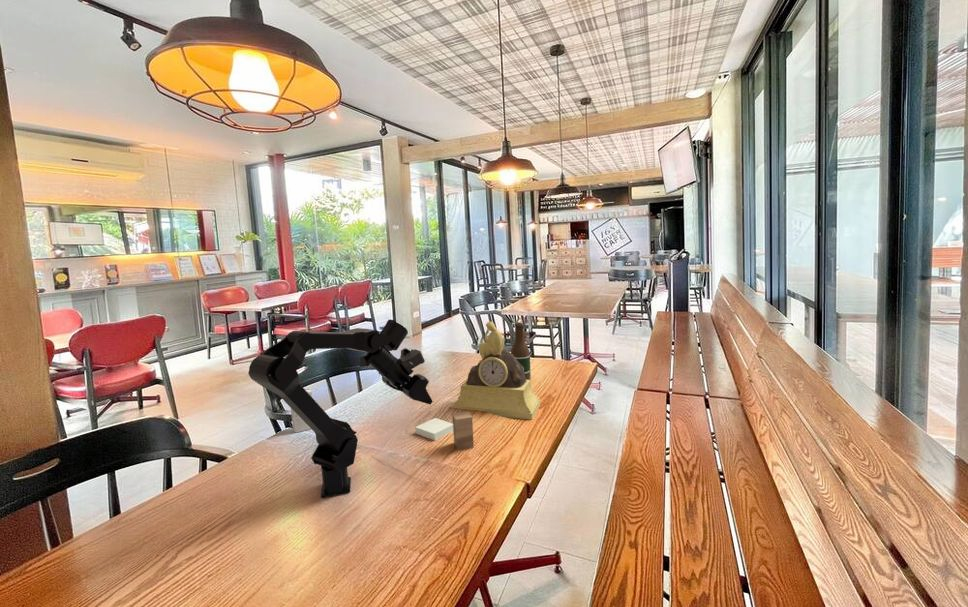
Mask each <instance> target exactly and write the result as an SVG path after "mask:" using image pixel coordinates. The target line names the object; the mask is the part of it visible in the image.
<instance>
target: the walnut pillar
mask: <svg viewBox="0 0 968 607" xmlns="http://www.w3.org/2000/svg"><path fill="white" fill-rule="evenodd" d="M452 424H453V431H452V432H453V444H454V446H455V447H456V450H457V451H459V450H465V449H471V448H474V447H475V445H474V424H473V416H472V415H471V413H470V412H469V410H467V411H460V412H459V411H458V412H454V413H452Z"/></svg>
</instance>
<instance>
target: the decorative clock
mask: <svg viewBox="0 0 968 607" xmlns="http://www.w3.org/2000/svg"><path fill="white" fill-rule="evenodd" d="M485 326H486V331H485V332H484V342H479V343H478V350H479V355H480V356H481V360H479V361H478V363H477V364H476V365H473V366H471V368H470V371H469V372H468V374H467V379H466V380H465V381H464V382H463V383H462V384H461V385H460V393H459V395H458V397H457V399H456V400H455V401H454V402H453V403H452V404H451V405H450V408H451V409H460V410H468V411H469V410H470V411H481V412H485V413H489V414H491V415H496V416H499V417H503V418H509V419H511V418H513V419H522V420H523V419H524V420H533V419H534V418H535V416H536V413H537V412H538V410H539V408H540V406H541V399H539V397H538V396H537V395H536V394H535V391H534V390H533V388H532V382H531V379H530V380H526V378H525V375H524V368H523V366H522V365H521V364H520V363H519V362H518V361H517V360H516V358H515V357H514V356H513V354H512V353H511V351H510V350H508V349H506V348H505V349H504V347H505V341H504V337H503V336H504V335H502V332H501V331H500V330H499V329H497V328H496V325H495V323H494V321H488V322H486V324H485ZM489 332H490V333H489Z"/></svg>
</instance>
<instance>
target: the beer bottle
mask: <svg viewBox="0 0 968 607" xmlns="http://www.w3.org/2000/svg"><path fill="white" fill-rule="evenodd" d="M514 327H515V332H514V333H515V335H514V337H515V338H514V343H513V344H512V346H511V350H510V353H512V354H513V356H514V357H515V358H516V360H517V361H518V362H519V363H520V364H521V365H522V366H523V368H524V375H525V378H526V380H531V354H530V348H529V346H528V345H527V344H526V340H525V330H524V329H525V328H524V327H525V325H524V323H523V322H516V323H515V324H514Z"/></svg>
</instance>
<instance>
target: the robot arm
mask: <svg viewBox="0 0 968 607" xmlns="http://www.w3.org/2000/svg"><path fill="white" fill-rule="evenodd" d="M408 334H409V331H408V329H407V328H406V327H404V325H402V324H401V323H398V322H397V321H396V320H395V319H388V320H387V321H386V323H385V325H384V326H383V328H382V329H381V331H379V330H377V329H371V328H370V329H369V328H361V327H357V328H352V329H347V330H345V331H340V332H337V331H330V332H329V331H305V330H304V331H302V330H292V331H290V332H289V333H288V334H286V336H284V337H283V338H282V339H281V340H280V341H278V342H276V343H274V344H272V345H270V346H269V347H268V348H266V350H265V351H264V352H262V353H261V354H260V355H257V356H256V357H255V358H253V359H252V361H251V362H250V364H249V366H248V368H249V369H248V376H249V377H250V379H251V380H252V381H253V382H255V383H257V384H258V385H260V386H261V387H263V388H265V389H267V390H268V391H270V392H272V393H274V394H275V395H277V396H279V397H280V398H281V399H282V400H283V401H284V402H285V404H286V405H288V406H289V408H290V409H291V408H292V409H293V410H294V411H295V413H296V414H297V415H298V416H299V417H300V418H301V419H302V420H303V421H304V422H305V423H306V424H307V425H308V426H309V427H310V428H311V429H310V430H312V431H313V432H314V433H315V439H316V440H315V441H316V442H317V444H318V445H317V446H316V448H315V450H314V452H313V454H312V455H311V457H310V458H311V460H312V463H313V464H315V465H318V466H320V467H321V468H320V470H321V480H322V481H321V483H322V485H321V491H320V498H323V499H324V498H328V497H333V496H338V495H344V494H349V493H350V492H351V488H352V487H351V482H352V478H351V477H352V476H349V472H348V468H349V467H351V466H352V465H354V463H355V459H356V453H357V448H358V442H359V439H358V436H357V435H356V434H357V433H358V432H357V431H355V430H353V429H352V426H351V425H350V424H349V423H348V422H347V421H343V420H340V419H335V418H332V417H330V416H329V415H328V414H327V412H326V411H325V410H324V409H323V407H321V406H320V405H319V403H318V402H317V401H316V400H315V399H314V397H313V396H312V397H311V396H310V395H309V393H308V392H307V391H306V390H305V388H304V386H302V384H301V382H300V377H299V373H298V369H299V368H300V367H301V366H302V365H303V363H304V360H305V357H306V355H307V353H308V352H309V351H310V350H328V349H329V350H330V349H335V350H336V349H337V350H338V349H345V350H346V349H347V350H352V351H357V352H364V353H365V354H364V355H360V356H359V367H360V368H363V367H364V368H365V367H369V366H372V368H374V369H375V371H377V372H378V375H380V376H381V377H382V378H381V379H382V380H381V381H382V382H383V383H384V384H385V385H386V386H388V387H389V388H391V389H393V390H395V391H399V392H402V393H403V394H404V395H405V396H406V397H408V398H409V399H411V400H413V401H415V402H416V401H417V402H420V403H424V404H427V405H431V404H432V403H433V399H432V398H431V396H430V394H429V392H428V389H427V386H428V385H429V383H430V381H429V379H428V378H426V376H424V375H422V374H419V373H417V374H413V373H414V370H413V369H414V368H416V367H419V365H423V364H424V363H425V359H424V356H423V353H422V351H421V350H418V349H410V350H409V349H408V348H406V347H404V348H402V349H401V350H400V356H399V358H397V357H396V356H395V355H393V354H392V353H391V352H392V351H398V349H399V348H400V346H401V345H402V344H403V342H404V340H405V338H406V337H407V335H408ZM412 374H413V376H412Z"/></svg>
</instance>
